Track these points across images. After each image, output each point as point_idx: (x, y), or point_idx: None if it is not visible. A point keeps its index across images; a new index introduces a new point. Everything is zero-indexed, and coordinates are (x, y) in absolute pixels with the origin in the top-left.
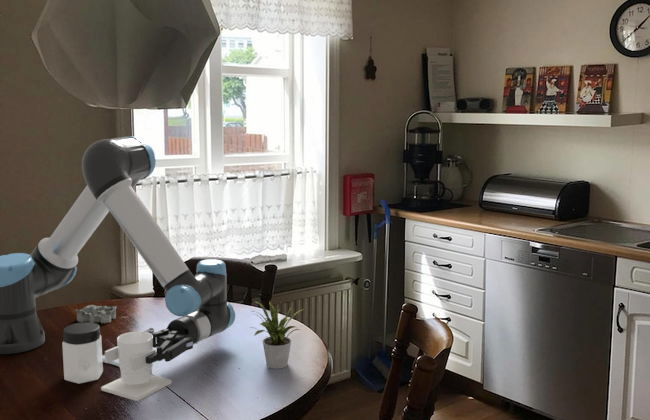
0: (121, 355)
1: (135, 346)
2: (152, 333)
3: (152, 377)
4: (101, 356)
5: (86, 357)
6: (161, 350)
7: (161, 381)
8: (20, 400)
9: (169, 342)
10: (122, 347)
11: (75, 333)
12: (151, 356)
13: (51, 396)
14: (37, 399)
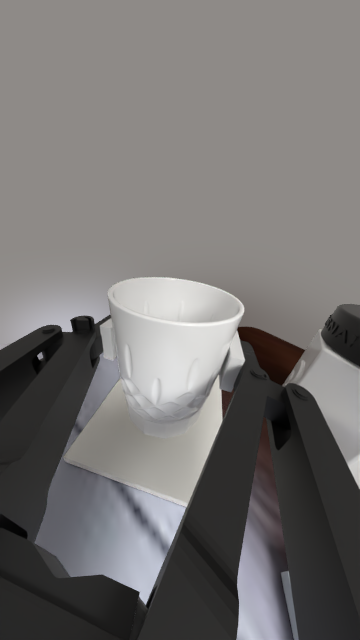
0: (188, 315)
1: (151, 285)
2: (217, 598)
3: (136, 459)
4: (340, 441)
5: (299, 363)
6: (74, 329)
7: (99, 434)
8: (276, 343)
9: (5, 416)
10: (186, 293)
11: (350, 304)
12: (109, 317)
13: (260, 354)
14: (264, 347)
